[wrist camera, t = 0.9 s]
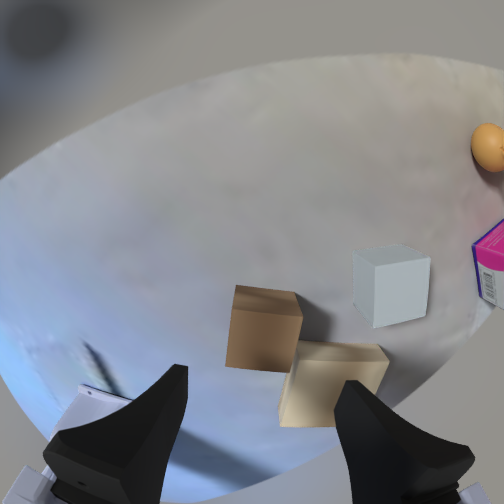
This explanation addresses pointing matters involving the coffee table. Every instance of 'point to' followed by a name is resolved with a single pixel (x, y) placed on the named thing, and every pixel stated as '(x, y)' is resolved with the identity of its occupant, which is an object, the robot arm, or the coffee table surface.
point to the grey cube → (390, 284)
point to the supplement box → (491, 265)
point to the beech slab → (326, 380)
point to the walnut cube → (263, 329)
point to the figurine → (489, 147)
